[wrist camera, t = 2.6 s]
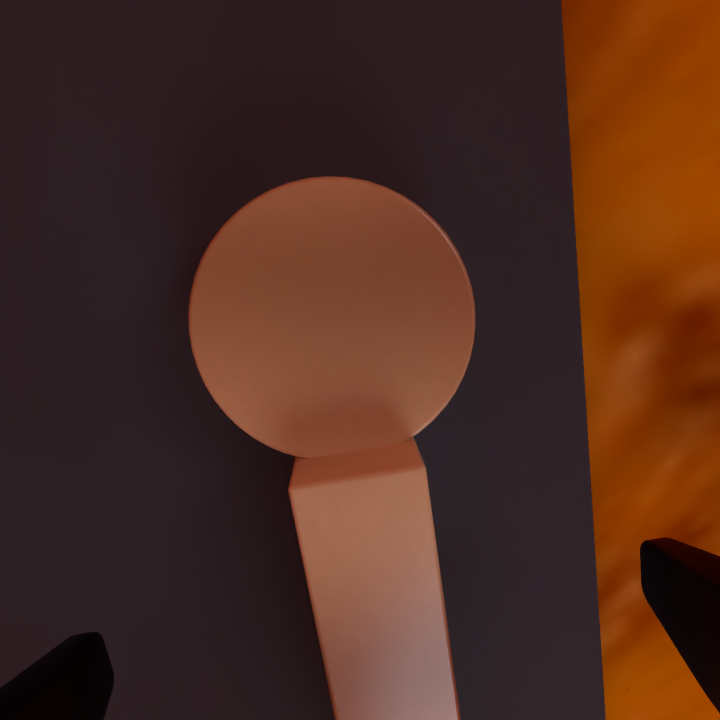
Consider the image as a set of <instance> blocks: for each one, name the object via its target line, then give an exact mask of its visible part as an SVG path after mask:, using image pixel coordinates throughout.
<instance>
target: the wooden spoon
mask: <svg viewBox="0 0 720 720" xmlns="http://www.w3.org/2000/svg"><path fill="white" fill-rule="evenodd" d="M188 324H189V336H190V342H191V348H192V352H193V356H194V359H195V362H196V366H197V369H198V371H199V373H200V375H201V377H202V380H203V382H204V384H205V386H206V387H207V389H208V391H209V392H210V394H211V396H212V397H213V399H214V400H215V402H216V403H217V404H218V405H219V407H220V408H221V409H222V410H223V411H224V413H225V414H226V415H227V416H228V417H229V418H230V419H231V420H232V421H233V422H234V423H235V424H236V425H237V426H238V427H240V428H241V429H242V430H244V431H245V432H246V433H248V434H249V435H250V436H252V437H253V438H255V439H256V440H258V441H260V442H262V443H264V444H265V445H267V446H269V447H271V448H273V449H276V450H278V451H281V452H283V453H286V454H289V455H293V456H295V461H294V465H293V470H292V474H291V479H290V483H289V488H288V493H289V498H290V503H291V508H292V513H293V518H294V523H295V527H296V532H297V537H298V542H299V547H300V552H301V557H302V562H303V567H304V571H305V576H306V581H307V586H308V591H309V596H310V601H311V606H312V610H313V615H314V620H315V625H316V630H317V635H318V640H319V645H320V650H321V654H322V659H323V664H324V669H325V674H326V679H327V684H328V689H329V694H330V698H331V703H332V708H333V713H334V718H335V720H461V717H460V710H459V703H458V695H457V688H456V681H455V674H454V667H453V659H452V652H451V645H450V638H449V630H448V623H447V616H446V609H445V601H444V594H443V587H442V580H441V573H440V565H439V558H438V551H437V544H436V536H435V529H434V522H433V515H432V507H431V500H430V493H429V486H428V479H427V471H426V466H425V464H424V462H423V459H422V457H421V454H420V452H419V449H418V447H417V444H416V442H415V439H414V437H413V436H415V435H416V434H418V433H419V432H420V431H422V430H423V429H424V428H425V427H426V426H427V425H429V424H430V423H431V422H432V421H433V420H434V419H435V418H436V417H437V416H438V415H439V413H440V412H441V411H442V410H443V409H444V408H445V407H446V405H447V404H448V402H449V401H450V399H451V398H452V397H453V395H454V394H455V392H456V390H457V388H458V386H459V384H460V382H461V381H462V379H463V377H464V374H465V371H466V369H467V366H468V363H469V360H470V357H471V352H472V348H473V343H474V335H475V324H476V321H475V303H474V297H473V291H472V286H471V283H470V279H469V276H468V273H467V270H466V267H465V265H464V263H463V261H462V259H461V256H460V254H459V252H458V250H457V249H456V247H455V246H454V244H453V242H452V241H451V239H450V238H449V236H448V235H447V233H446V232H445V231H444V230H443V229H442V228H441V226H440V225H439V224H438V223H437V222H436V220H435V219H433V218H432V217H431V216H430V215H429V214H428V213H427V212H426V211H425V210H423V209H422V208H421V207H420V206H419V205H417V204H416V203H414V202H413V201H411V200H410V199H408V198H407V197H405V196H404V195H402V194H400V193H398V192H396V191H394V190H392V189H390V188H388V187H385V186H382V185H379V184H376V183H373V182H370V181H367V180H362V179H356V178H351V177H339V176H322V177H311V178H305V179H300V180H296V181H292V182H288V183H285V184H283V185H280V186H278V187H275V188H272V189H270V190H268V191H266V192H264V193H263V194H261V195H259V196H257V197H255V198H254V199H252V200H251V201H249V202H248V203H247V204H245V205H244V206H243V207H241V208H240V209H239V210H237V211H236V212H235V213H234V214H233V215H232V216H231V217H230V218H229V219H228V220H227V221H226V222H225V223H224V224H223V225H222V227H221V228H220V229H219V231H218V232H217V233H216V235H215V236H214V237H213V239H212V240H211V242H210V243H209V245H208V247H207V249H206V250H205V252H204V254H203V256H202V258H201V260H200V263H199V265H198V268H197V270H196V273H195V276H194V280H193V284H192V288H191V292H190V300H189V309H188Z"/></svg>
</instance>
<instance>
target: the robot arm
mask: <svg viewBox="0 0 720 720" xmlns="http://www.w3.org/2000/svg"><path fill="white" fill-rule="evenodd" d="M640 561H641V584H642V589H643V593H644V595H645V598H646V600H647V601H648V603H649V605H650V606H651V608H652V610H653V611H654V613H655V614H656V616H657V618H658V619H659V621H660V622H661V624H662V626H663V627H664V629H665V630H666V632H667V634H668V635H669V637H670V638H671V640H672V642H673V643H674V645H675V646H676V648H677V650H678V651H679V653H680V654H681V656H682V658H683V659H684V661H685V662H686V664H687V666H688V667H689V669H690V670H691V672H692V674H693V675H694V677H695V678H696V680H697V681H698V683H699V684H700V686H701V688H702V689H703V691H704V692H705V694H706V695H707V696H708V698H709V699H710V701H711V702H712V703H713V705H714V706H715V707H716V709H717V710H718V712H719V713H720V556H717V555H715V554H712V553H709V552H707V551H704V550H701V549H698V548H696V547H693V546H690V545H688V544H685V543H682V542H679V541H677V540H674V539H671V538H665V537H664V538H658V539H652V540H646V541H644V542H643V543H642V544H641V547H640ZM113 686H114V672H113V668H112V665H111V662H110V658H109V655H108V652H107V649H106V646H105V642H104V639H103V637H102V635H101V634H100V633H98V632H95V631H94V632H88V633H82V634H76V635H73V636H70V637H69V638H67V639H66V640H65V641H63V642H62V643H61V644H59V645H58V646H56V647H55V648H54V649H52V650H51V651H50V652H48V653H47V654H46V655H44V656H43V657H41V658H40V659H39V660H37V661H36V662H35V663H33V664H32V665H31V666H29V667H28V668H27V669H25V670H24V671H22V672H21V673H20V674H18V675H17V676H16V677H14V678H13V679H12V680H10V681H9V682H7V683H6V684H5V685H3V686H2V687H1V688H0V720H104V717H105V714H106V710H107V707H108V704H109V701H110V697H111V694H112V691H113Z"/></svg>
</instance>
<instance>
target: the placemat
mask: <svg viewBox="0 0 720 720" xmlns="http://www.w3.org/2000/svg"><path fill="white" fill-rule="evenodd" d="M322 176H339V177H351V178H356V179H362V180H367V181H370V182H373V183H376V184H379V185H382V186H385V187H388V188H390V189H392V190H394V191H396V192H398V193H400V194H402V195H404V196H405V197H407V198H408V199H410V200H411V201H413V202H414V203H416V204H417V205H419V206H420V207H421V208H422V209H423V210H425V211H426V212H427V213H428V214H429V215H430V216H431V217H432V218H433V219H435V220H436V222H437V223H438V224H439V225H440V226H441V228H442V229H443V230H444V231H445V232H446V233H447V235H448V236H449V238H450V239H451V241H452V242H453V244H454V246H455V247H456V249H457V250H458V252H459V254H460V256H461V259H462V261H463V263H464V265H465V267H466V270H467V273H468V276H469V279H470V283H471V286H472V291H473V297H474V303H475V321H476V324H475V335H474V343H473V348H472V352H471V357H470V360H469V363H468V366H467V369H466V371H465V374H464V377H463V379H462V381H461V382H460V384H459V386H458V388H457V390H456V392H455V394H454V395H453V397H452V398H451V399H450V401H449V402H448V404H447V405H446V407H445V408H444V409H443V410H442V411H441V412H440V413H439V415H438V416H437V417H436V418H435V419H434V420H433V421H432V422H431V423H430V424H429V425H427V426H426V427H425V428H424V429H423V430H422V431H420V432H419V433H418V434H416V435H415V436H413V437H414V439H415V442H416V444H417V447H418V449H419V452H420V454H421V457H422V459H423V462H424V464H425V466H426V471H427V479H428V486H429V493H430V500H431V507H432V515H433V522H434V529H435V536H436V544H437V551H438V558H439V565H440V573H441V580H442V587H443V594H444V601H445V609H446V616H447V623H448V630H449V638H450V645H451V652H452V659H453V667H454V674H455V681H456V688H457V695H458V703H459V710H460V717H461V720H605V704H604V688H603V672H602V656H601V640H600V623H599V607H598V591H597V575H596V559H595V543H594V527H593V511H592V495H591V478H590V462H589V446H588V430H587V414H586V398H585V382H584V366H583V350H582V333H581V317H580V301H579V285H578V269H577V253H576V237H575V221H574V205H573V188H572V172H571V156H570V140H569V124H568V108H567V92H566V76H565V60H564V44H563V27H562V11H561V0H0V688H1V687H2V686H3V685H5V684H6V683H7V682H9V681H10V680H12V679H13V678H14V677H16V676H17V675H18V674H20V673H21V672H22V671H24V670H25V669H27V668H28V667H29V666H31V665H32V664H33V663H35V662H36V661H37V660H39V659H40V658H41V657H43V656H44V655H46V654H47V653H48V652H50V651H51V650H52V649H54V648H55V647H56V646H58V645H59V644H61V643H62V642H63V641H65V640H66V639H67V638H69V637H70V636H73V635H76V634H82V633H88V632H94V631H95V632H98V633H100V634H101V635H102V637H103V639H104V642H105V646H106V649H107V652H108V655H109V658H110V662H111V665H112V668H113V672H114V686H113V691H112V694H111V697H110V701H109V704H108V707H107V710H106V714H105V717H104V720H335V718H334V713H333V708H332V703H331V698H330V694H329V689H328V684H327V679H326V674H325V669H324V664H323V659H322V654H321V650H320V645H319V640H318V635H317V630H316V625H315V620H314V615H313V610H312V606H311V601H310V596H309V591H308V586H307V581H306V576H305V571H304V567H303V562H302V557H301V552H300V547H299V542H298V537H297V532H296V527H295V523H294V518H293V513H292V508H291V503H290V498H289V493H288V488H289V483H290V479H291V474H292V470H293V465H294V461H295V456H293V455H289V454H286V453H283V452H281V451H278V450H276V449H273V448H271V447H269V446H267V445H265V444H264V443H262V442H260V441H258V440H256V439H255V438H253V437H252V436H250V435H249V434H248V433H246V432H245V431H244V430H242V429H241V428H240V427H238V426H237V425H236V424H235V423H234V422H233V421H232V420H231V419H230V418H229V417H228V416H227V415H226V414H225V413H224V411H223V410H222V409H221V408H220V407H219V405H218V404H217V403H216V402H215V400H214V399H213V397H212V396H211V394H210V392H209V391H208V389H207V387H206V386H205V384H204V382H203V380H202V377H201V375H200V373H199V371H198V369H197V366H196V362H195V359H194V356H193V352H192V348H191V342H190V336H189V324H188V309H189V300H190V292H191V288H192V284H193V280H194V276H195V273H196V270H197V268H198V265H199V263H200V260H201V258H202V256H203V254H204V252H205V250H206V249H207V247H208V245H209V243H210V242H211V240H212V239H213V237H214V236H215V235H216V233H217V232H218V231H219V229H220V228H221V227H222V225H223V224H224V223H225V222H226V221H227V220H228V219H229V218H230V217H231V216H232V215H233V214H234V213H235V212H236V211H237V210H239V209H240V208H241V207H243V206H244V205H245V204H247V203H248V202H249V201H251V200H252V199H254V198H255V197H257V196H259V195H261V194H263V193H264V192H266V191H268V190H270V189H272V188H275V187H278V186H280V185H283V184H285V183H288V182H292V181H296V180H300V179H305V178H311V177H322Z"/></svg>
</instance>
